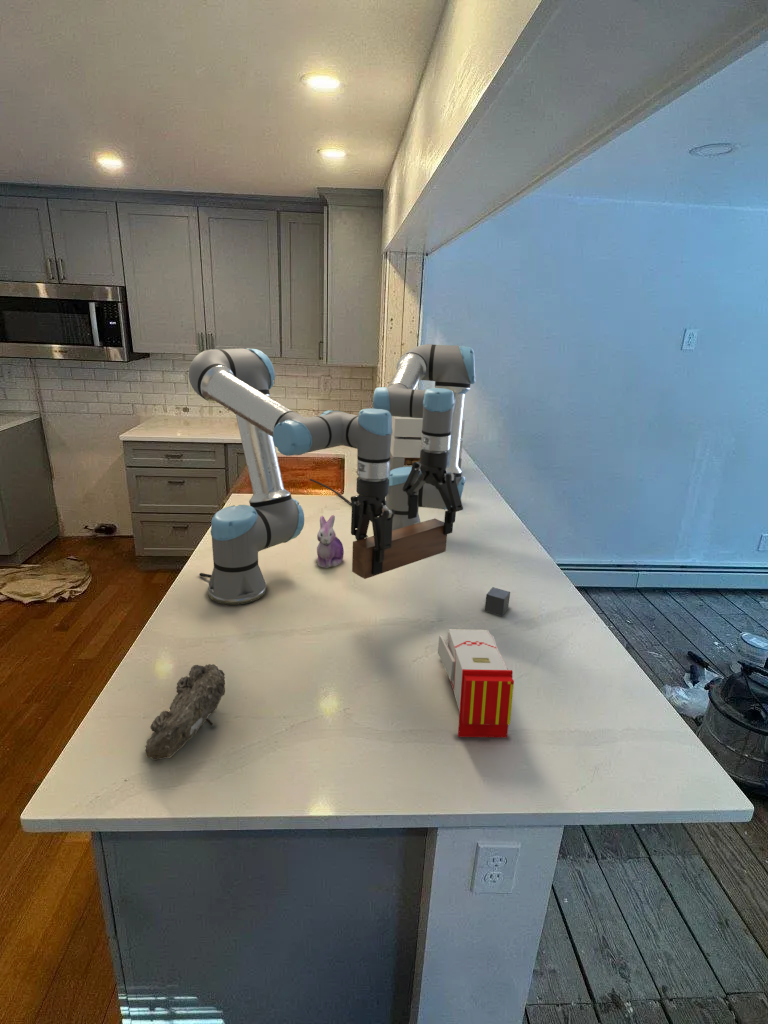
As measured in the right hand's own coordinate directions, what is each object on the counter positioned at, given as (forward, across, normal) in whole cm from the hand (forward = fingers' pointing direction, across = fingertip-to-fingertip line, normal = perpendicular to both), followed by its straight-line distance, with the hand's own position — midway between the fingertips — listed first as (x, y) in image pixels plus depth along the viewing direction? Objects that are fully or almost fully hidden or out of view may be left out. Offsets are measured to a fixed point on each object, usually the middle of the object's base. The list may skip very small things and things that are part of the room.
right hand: (429, 525), depth 154 cm
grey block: (+19, +20, +7) cm, 29 cm away
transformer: (+23, -87, +83) cm, 123 cm away
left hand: (+4, +4, -24) cm, 25 cm away
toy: (+18, +39, -25) cm, 50 cm away
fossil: (+18, +12, -74) cm, 77 cm away
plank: (+5, +4, -14) cm, 15 cm away
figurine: (+20, -30, -12) cm, 38 cm away
